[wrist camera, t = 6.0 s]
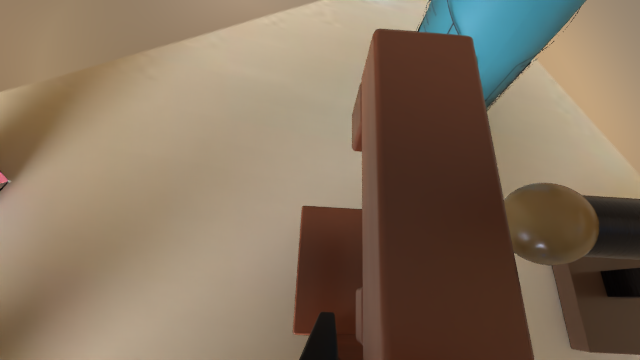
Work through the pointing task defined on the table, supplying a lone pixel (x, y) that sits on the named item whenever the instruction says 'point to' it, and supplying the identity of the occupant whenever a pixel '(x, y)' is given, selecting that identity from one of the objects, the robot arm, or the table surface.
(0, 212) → the table surface
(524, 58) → the beverage bottle
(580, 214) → the rack
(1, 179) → the geometric puzzle
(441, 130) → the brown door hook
